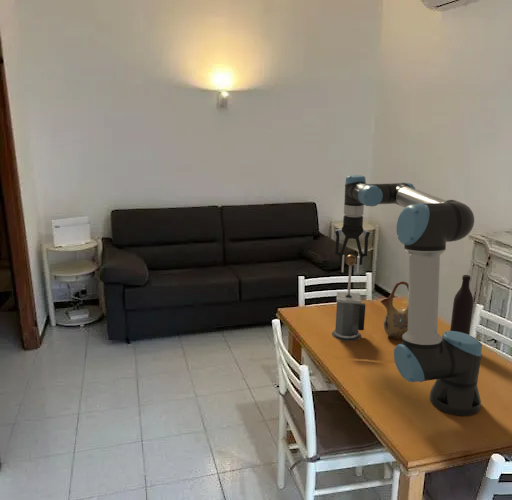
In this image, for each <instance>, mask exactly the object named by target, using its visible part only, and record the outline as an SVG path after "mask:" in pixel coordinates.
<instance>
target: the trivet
mask: <svg viewBox="0 0 512 500" xmlns="http://www.w3.org/2000/svg"><path fill="white" fill-rule="evenodd" d="M331 335H332V337H333V338H334V339H336V340H338V341H341V342H342V341H344V342H355V341H359V339H362V335H361V333H360V332H359V336H358V338H356V339H353V340H344V339H340V338H337V337H336V336H335V335H334V330H333V331H332V332H331Z"/></svg>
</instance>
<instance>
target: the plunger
mask: <svg viewBox="0 0 512 500" xmlns="http://www.w3.org/2000/svg"><path fill="white" fill-rule="evenodd" d="M356 257H357V256H355V255H354V254H348V255H346V257H344V263H345V264H346V265H348V280H347V283H348V284H347V292H348V294H347V297H348V298H350V293H351V286H352V285H351V281H352V266H354V265H355V264H357V258H356Z"/></svg>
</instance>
